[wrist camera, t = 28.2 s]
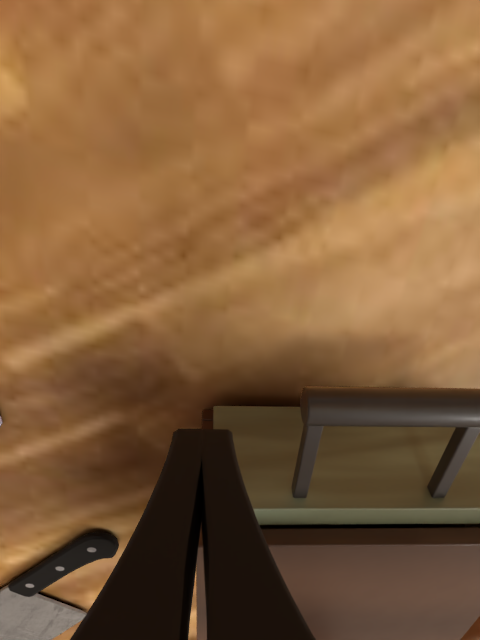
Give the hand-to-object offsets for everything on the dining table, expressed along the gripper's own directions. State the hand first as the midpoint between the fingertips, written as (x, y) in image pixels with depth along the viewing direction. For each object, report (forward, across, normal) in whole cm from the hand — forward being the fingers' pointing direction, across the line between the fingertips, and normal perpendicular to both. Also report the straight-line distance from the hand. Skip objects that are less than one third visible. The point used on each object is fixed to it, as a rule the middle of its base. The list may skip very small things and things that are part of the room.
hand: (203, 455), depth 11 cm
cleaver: (+10, +15, +33) cm, 38 cm away
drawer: (+9, -7, +11) cm, 16 cm away
